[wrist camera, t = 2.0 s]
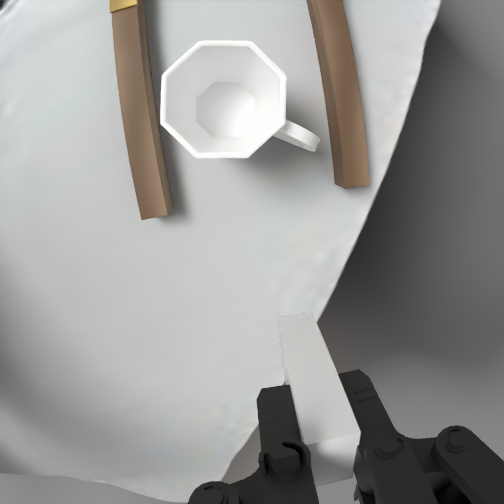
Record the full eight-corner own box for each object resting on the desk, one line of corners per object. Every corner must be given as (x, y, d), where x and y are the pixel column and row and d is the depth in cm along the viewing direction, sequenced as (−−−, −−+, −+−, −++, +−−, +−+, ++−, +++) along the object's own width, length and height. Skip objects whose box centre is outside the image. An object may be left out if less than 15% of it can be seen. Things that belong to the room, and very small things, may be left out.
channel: (149, 212, 25) (140, 221, 22) (119, -78, 14) (111, -92, 12) (358, 181, 25) (371, 186, 22) (298, -101, 15) (303, -116, 12)
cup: (202, 55, 21) (190, 19, 13) (320, 106, 23) (360, 94, 15) (165, 136, 23) (135, 135, 15) (284, 185, 25) (307, 206, 17)
